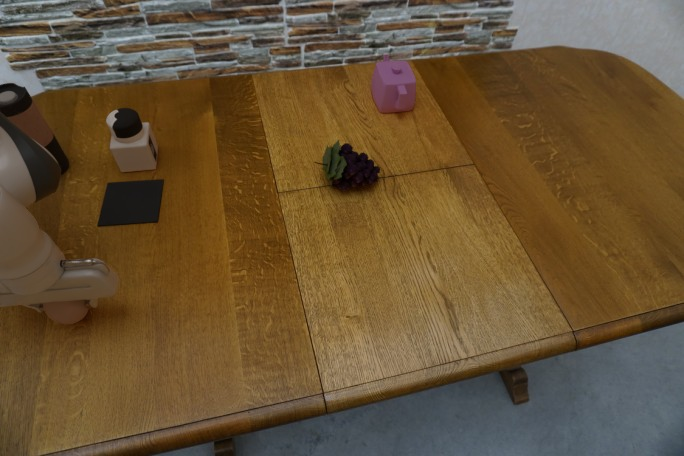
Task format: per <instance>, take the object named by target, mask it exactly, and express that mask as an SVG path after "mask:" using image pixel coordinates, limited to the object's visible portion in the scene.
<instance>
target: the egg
mask: <svg viewBox="0 0 684 456" xmlns="http://www.w3.org/2000/svg"><path fill="white" fill-rule="evenodd" d="M85 300H86V299H85ZM85 300H74V301H62V302H49V303H43V308H44V311H45V312H44V313H45V314H46V316H47V317H48V318H49V319H50V320H52V321H54V323H58V324H60V325H72V324H76V323H78V322H80V321H82V320H83V319H84V318H85V317H86V315H87V314H88V313H89V309H90V308H87V307H86V306H85V305H84V303H85Z"/></svg>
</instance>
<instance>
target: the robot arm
mask: <svg viewBox="0 0 684 456" xmlns="http://www.w3.org/2000/svg"><path fill="white" fill-rule="evenodd" d="M61 176H62V175H61V167H60V166H59V164H58V162H57V161H56V159H55V158H54V156H53V155H52V154H51V153H50V152H49V151H48V150H47V149H46V148H44V147H43V146H42V145H41V144H39V143H38V142H36V141H35V140H33V139H32V138H30V137H29V136H28V135H27V134H25V133H24V132H23V131H22V130H20V129H19V128H18V127H17V126H16V125H15V124H14V123H12V122H11V121H10V120H9V119H8V118H7V117H6V116H5V115H3V114H2V113H1V112H0V308H2V307H14V306H15V307H16V306H22V307H25V308H28V309H29V308H30V309H33V310H35V311H36V312H38V313H46V312H45V311H44V308H43V303H49V302H62V301H74V300H85V299H86V300H85V303H84V305H85V306H86V307H87V308H89V309H96V308H97V307H98V304H99V299H108V298H114V297H115V295H117V293H118V290H119V286H120V277H119V275H118V274H117V272H116V271H114V269H113V268H112V267H111V266H109V264H107V263H106V262H105V261H103V260H102V259H99V258H96V257H86V258H85V257H84V258H73V259H66V257H65V254H64V253H63V252H62V250H61V249H60V247H59V246H57V244H56V243H55V242H54V241H53V239H52V238H51V237H50V235H49V234H48V233H47V232H46V231H44V230H42V229H41V228H40V226H39V223H38V221H37V219H36V217H34V215H33V214H32V213H31V212H30V210H28V207H29V206H31V205H33V204H35V203H38V202H40V201H41V200H43V199H45V198H47V197H49V196H51V195H52V194H54V193H56V192H57V190H58V188H59V184H60V182H61Z"/></svg>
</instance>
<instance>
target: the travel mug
mask: <svg viewBox="0 0 684 456" xmlns="http://www.w3.org/2000/svg"><path fill="white" fill-rule="evenodd" d="M0 112H1V113H2V114H3V115H5V116H6V117H7V118H8V119H9V120H10V121H11V122H12V123H14V124H15V125H16V126H17V127H18V128H19V129H20V130H22V131H23V132H24V133H25V134H27V135H28V136H29V137H30V138H32V139H33V140H35V141H36V142H38V143H39V144H41V145H42V146H43V147H44V148H46V149H47V150H48V151H49V152H50V153H51V154H52V155H53V156H54V158H55V159H56V161H57V162H58V164H59V166H60V167H61V176H63V175H64V174H65V173H66V172H67V171H68V170H69V168H70V161H69V159H68V156H67V155H66V154H65V152H64V150H63V148H62V146H61V145H60V143H59V141H58V139H57V137H56V135H55V133H54V132H53V130H52V129H51V127H50V125H49V123H48V121H46V119H45V117H44V115H43V113H42V112H41V111H40V109H39V108H38V106H37V104H36V103H35V101H34V99H33V98H32V96H31V94H30V93H29V90H28V89H27V88H26V86H22V85H19V84H16V83H14V82H6V83H1V84H0Z"/></svg>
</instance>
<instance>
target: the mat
mask: <svg viewBox="0 0 684 456" xmlns="http://www.w3.org/2000/svg"><path fill="white" fill-rule="evenodd" d="M164 181H165V179H164V178H161V179H160V178H158V179H143V180H127V181H126V180H125V181H112V182H107V183H106V188H105V192H104V195H103V200H102V204H101V208H100V212H99V217H98V221H97V225H96V226H97V228H98V227H110V226H111V227H113V226H125V225H140V224H154V223H155V224H156V223H159V217H160V212H161V211H160V210H161V203H162V196H163V188H164V183H165V182H164Z"/></svg>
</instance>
